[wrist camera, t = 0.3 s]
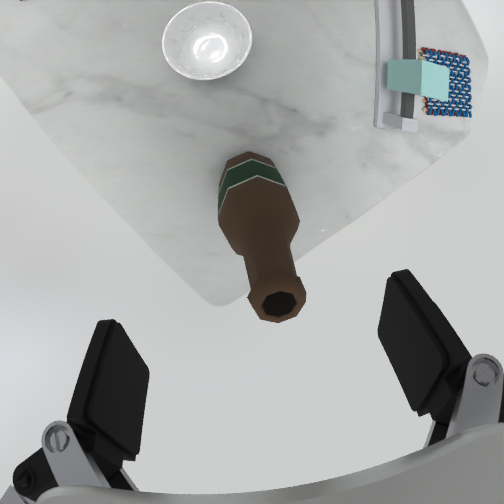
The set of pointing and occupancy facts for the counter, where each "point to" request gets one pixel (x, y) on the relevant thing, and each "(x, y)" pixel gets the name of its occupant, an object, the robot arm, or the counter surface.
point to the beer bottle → (262, 234)
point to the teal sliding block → (418, 78)
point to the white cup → (207, 40)
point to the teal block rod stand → (389, 48)
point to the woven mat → (450, 84)
